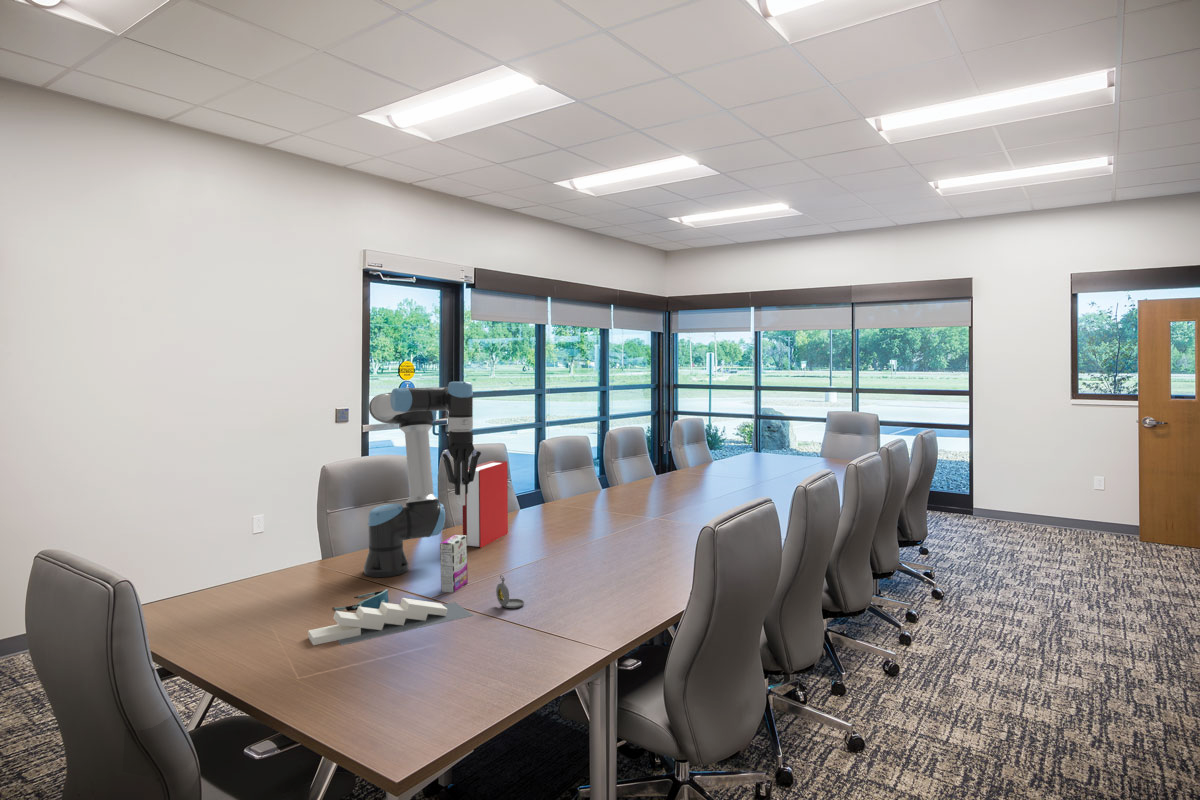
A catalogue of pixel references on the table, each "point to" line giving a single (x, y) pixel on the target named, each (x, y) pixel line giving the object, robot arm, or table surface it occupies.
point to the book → (486, 504)
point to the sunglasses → (369, 601)
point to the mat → (410, 624)
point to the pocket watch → (507, 596)
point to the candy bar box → (453, 563)
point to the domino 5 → (423, 607)
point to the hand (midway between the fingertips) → (461, 504)
